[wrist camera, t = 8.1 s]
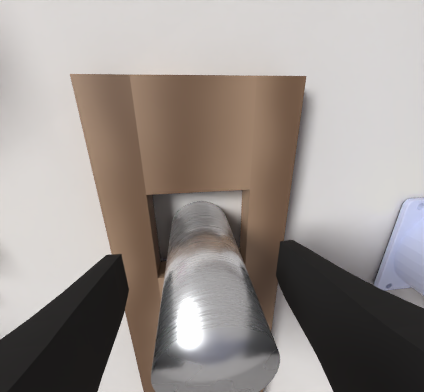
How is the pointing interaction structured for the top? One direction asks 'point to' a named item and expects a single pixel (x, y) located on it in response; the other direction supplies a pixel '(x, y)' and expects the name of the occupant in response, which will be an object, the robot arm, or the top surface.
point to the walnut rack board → (189, 170)
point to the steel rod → (209, 312)
